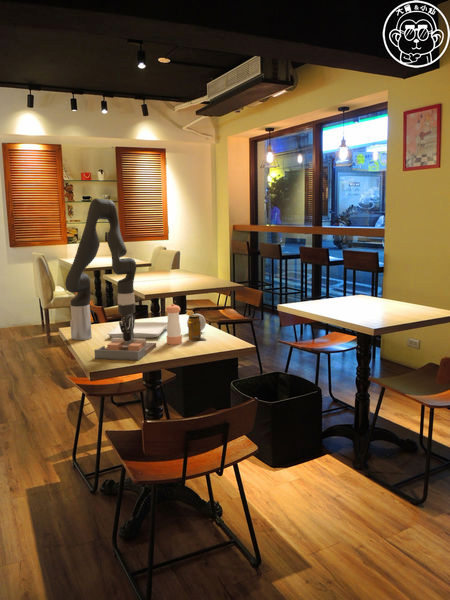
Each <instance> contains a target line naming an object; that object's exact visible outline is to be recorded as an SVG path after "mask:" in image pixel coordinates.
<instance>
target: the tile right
mask: <svg viewBox="0 0 450 600" xmlns="http://www.w3.org/2000/svg"><path fill="white" fill-rule="evenodd" d="M142 348H143V343H131V344H130V345H128V350H129V351H139V350H141V349H142Z"/></svg>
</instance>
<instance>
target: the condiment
mask: <svg viewBox="0 0 450 600" xmlns="http://www.w3.org/2000/svg"><path fill="white" fill-rule="evenodd" d="M188 318H189V321H188V320H187V321H188V326H187V327H188V329H187V330H188V331H187V332H188V337H187V338H186V339H187V340H188V342H197V341H207V339H206V338H205V337H204V336H201V335H202V333H201V332H202V331H201V327H200V319H199V316H198V315H193V314H191V315H189V316H188Z"/></svg>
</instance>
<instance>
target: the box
mask: <svg viewBox="0 0 450 600" xmlns="http://www.w3.org/2000/svg"><path fill="white" fill-rule="evenodd" d="M105 348H106V346H105V345H103V346H101V347H99V348H97V349H94V359H95V360H112V361H113V360H114V361H116V360H117V361H135V362H137V361H139V360H141V359H143V358H144V357H145V356H146V355H145V348H144V347H143V348H142V349H141V350H139V351H122V350H105Z"/></svg>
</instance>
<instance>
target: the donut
mask: <svg viewBox="0 0 450 600" xmlns="http://www.w3.org/2000/svg"><path fill="white" fill-rule="evenodd" d="M192 315H198V316H199V319H200V327H201V332H202V331H203V330H204V329H205V327H206V326H207V325H206V323H207V321H206V319H205V317H204V315H202V314H200V313H193V314H192ZM188 321H189V317H188V319H187V321H186V324H187V327H188Z"/></svg>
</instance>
